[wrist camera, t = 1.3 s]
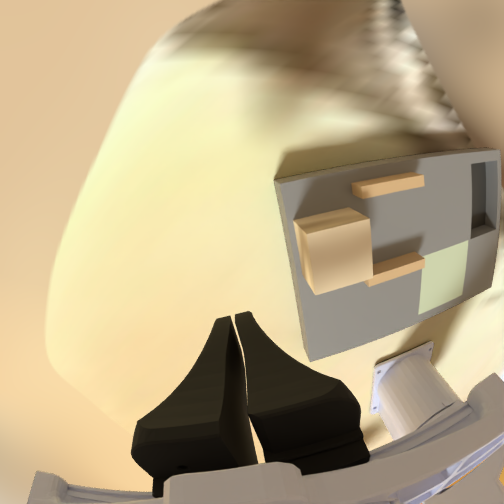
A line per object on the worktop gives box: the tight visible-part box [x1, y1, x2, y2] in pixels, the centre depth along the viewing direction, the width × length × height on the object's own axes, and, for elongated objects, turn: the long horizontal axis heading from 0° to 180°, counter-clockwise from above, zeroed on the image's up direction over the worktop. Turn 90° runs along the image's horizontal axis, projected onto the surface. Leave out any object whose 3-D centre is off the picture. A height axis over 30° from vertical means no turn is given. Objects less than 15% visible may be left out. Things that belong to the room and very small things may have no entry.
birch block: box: [293, 207, 373, 295], centre depth 18 cm, size 4×4×3 cm
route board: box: [274, 147, 501, 362], centre depth 21 cm, size 15×22×4 cm
